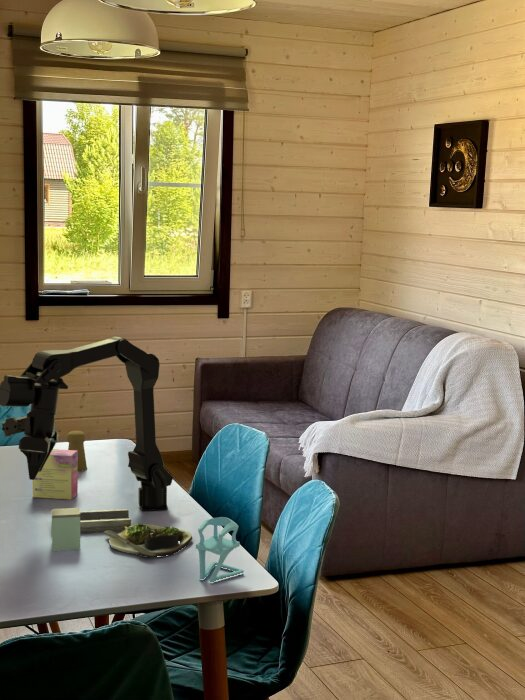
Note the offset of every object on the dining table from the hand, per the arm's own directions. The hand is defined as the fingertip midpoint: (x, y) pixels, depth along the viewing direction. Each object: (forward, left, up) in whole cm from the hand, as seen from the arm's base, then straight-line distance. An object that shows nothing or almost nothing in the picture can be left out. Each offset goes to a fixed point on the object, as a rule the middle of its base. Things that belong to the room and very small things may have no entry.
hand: (35, 475), depth 208 cm
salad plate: (-25, +10, -15) cm, 31 cm away
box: (-5, -28, -14) cm, 32 cm away
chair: (-37, +31, -14) cm, 50 cm away
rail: (-13, -3, -14) cm, 19 cm away
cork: (-11, -52, -14) cm, 55 cm away
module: (-7, +9, -14) cm, 18 cm away
